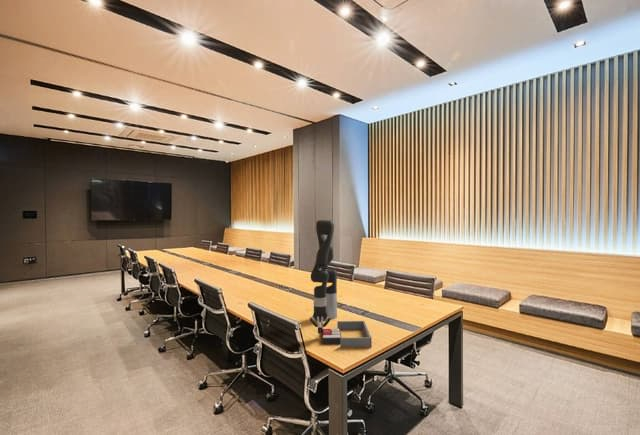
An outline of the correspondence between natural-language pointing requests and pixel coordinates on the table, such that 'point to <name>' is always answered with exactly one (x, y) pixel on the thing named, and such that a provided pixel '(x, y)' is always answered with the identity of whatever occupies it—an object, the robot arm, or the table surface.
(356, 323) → the box
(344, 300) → the table surface
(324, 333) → the calculator
